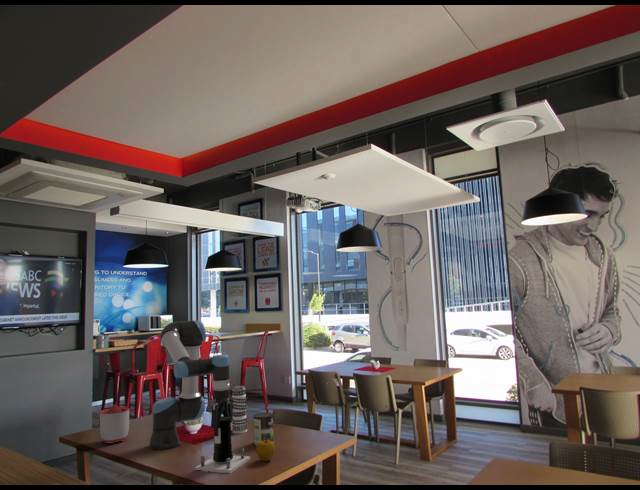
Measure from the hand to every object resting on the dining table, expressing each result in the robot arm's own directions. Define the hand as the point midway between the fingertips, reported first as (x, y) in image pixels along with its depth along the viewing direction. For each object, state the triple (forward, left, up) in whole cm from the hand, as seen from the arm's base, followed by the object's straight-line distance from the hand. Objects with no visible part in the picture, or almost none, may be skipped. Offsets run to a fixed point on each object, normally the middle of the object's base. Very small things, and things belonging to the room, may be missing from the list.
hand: (222, 440), depth 213 cm
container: (0, 0, -8) cm, 8 cm away
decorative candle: (-20, +52, -11) cm, 57 cm away
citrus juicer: (-83, +23, -11) cm, 87 cm away
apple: (+17, +9, -11) cm, 22 cm away
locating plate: (0, 0, -11) cm, 11 cm away
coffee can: (+4, +34, -11) cm, 36 cm away
